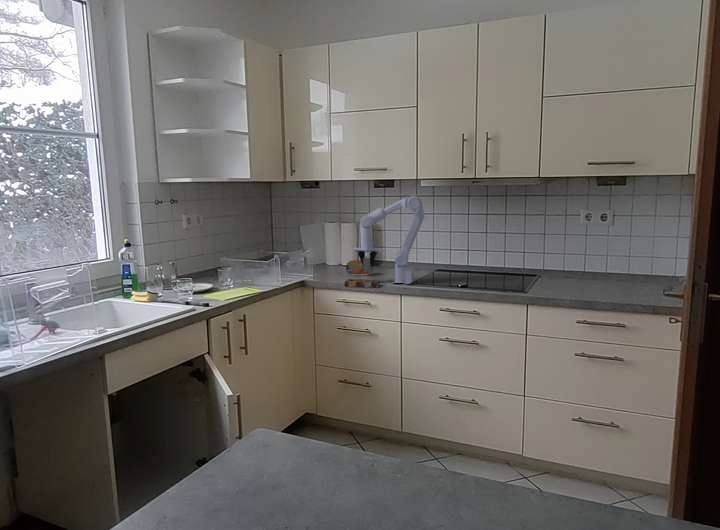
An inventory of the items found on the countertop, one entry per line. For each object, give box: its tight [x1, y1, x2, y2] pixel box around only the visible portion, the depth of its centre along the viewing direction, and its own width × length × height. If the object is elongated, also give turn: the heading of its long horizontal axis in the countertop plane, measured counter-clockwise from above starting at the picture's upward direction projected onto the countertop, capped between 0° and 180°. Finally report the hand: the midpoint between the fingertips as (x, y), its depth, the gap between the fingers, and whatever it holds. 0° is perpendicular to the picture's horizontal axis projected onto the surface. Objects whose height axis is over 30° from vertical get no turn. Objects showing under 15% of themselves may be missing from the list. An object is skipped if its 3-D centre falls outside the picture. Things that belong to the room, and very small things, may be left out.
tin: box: [345, 259, 374, 276], centre depth 284 cm, size 15×3×8 cm, turn 76°
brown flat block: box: [344, 278, 380, 289], centre depth 257 cm, size 16×7×3 cm, turn 73°
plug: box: [363, 255, 373, 272], centre depth 262 cm, size 4×4×8 cm
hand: (367, 266), depth 262 cm, fingers closed on plug, 4 cm apart
